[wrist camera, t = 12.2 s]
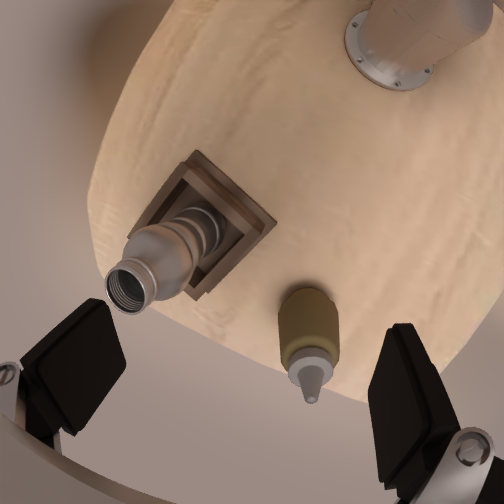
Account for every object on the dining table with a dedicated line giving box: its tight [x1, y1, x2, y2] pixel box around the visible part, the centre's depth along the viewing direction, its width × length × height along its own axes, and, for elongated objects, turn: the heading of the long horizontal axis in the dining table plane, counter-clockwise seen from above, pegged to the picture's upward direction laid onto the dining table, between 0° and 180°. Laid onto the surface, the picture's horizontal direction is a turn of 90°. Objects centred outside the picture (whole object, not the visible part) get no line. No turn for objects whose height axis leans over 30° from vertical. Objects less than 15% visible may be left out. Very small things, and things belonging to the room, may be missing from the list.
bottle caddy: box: [127, 150, 277, 301], centre depth 35 cm, size 14×14×6 cm
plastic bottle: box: [105, 202, 226, 315], centre depth 28 cm, size 6×7×20 cm
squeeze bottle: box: [278, 288, 340, 404], centre depth 32 cm, size 8×8×18 cm
